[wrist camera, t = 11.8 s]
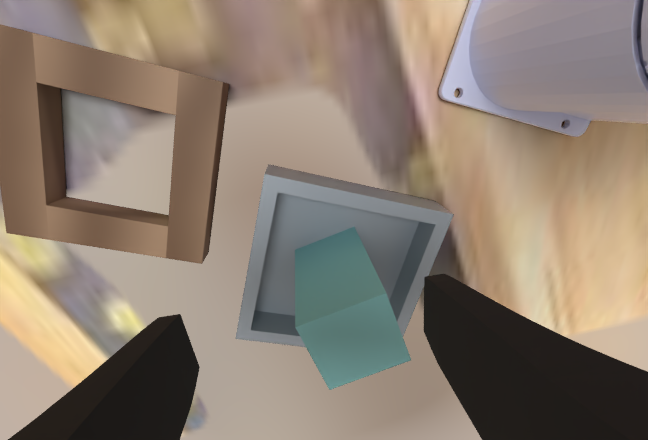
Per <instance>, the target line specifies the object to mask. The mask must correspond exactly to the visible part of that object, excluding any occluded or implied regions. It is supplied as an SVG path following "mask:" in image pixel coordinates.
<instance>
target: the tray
mask: <svg viewBox="0 0 648 440" xmlns="http://www.w3.org/2000/svg"><path fill="white" fill-rule="evenodd" d="M453 215H454V214H452V213H451V212H450V211H448V210H447V209H445V208H444V207H443V206H441V205H440V204H438V203H437V202H435V201H433V200H429V199H424V198H419V197H415V196H410V195H406V194H401V193H397V192H392V191H388V190H383V189H379V188H374V187H369V186H365V185H360V184H356V183H351V182H347V181H342V180H338V179H333V178H328V177H324V176H319V175H315V174H310V173H306V172H301V171H296V170H292V169H287V168H282V167H278V166H274V165H268V167H267V169H266V172H265V175H264V181H263V187H262V192H261V198H260V203H259V209H258V215H257V220H256V226H255V232H254V237H253V243H252V249H251V254H250V261H249V266H248V271H247V277H246V283H245V288H244V294H243V300H242V305H241V311H240V317H239V322H238V328H237V334H236V339H242V340H250V341H260V342H268V343H275V344H276V343H277V344H284V345H292V346H301V347H306V346H305V344H304V342H303V341H302V339H301V337H300V335H299V333H298V331H297V330H296V328H295V250H296V249H298V248H301V247H303V246H306V245H309V244H311V243H314V242H316V241H319V240H321V239H324V238H326V237H329V236H331V235H334V234H336V233H339V232H342V231H344V230H347V229H349V228H352V227H355V229H356V231H357V233H358V235H359V237H360V239H361V241H362V243H363V246H364V248H365V250H366V252H367V254H368V256H369V258H370V260H371V262H372V264H373V266H374V268H375V270H376V273H377V275H378V277H379V279H380V281H381V283H382V285H383V287H384V289H385V291H386V294H387V296H388V299H389V302H390V304H391V307H392V310H393V312H394V315H395V318H396V320H397V323H398V326H399V329H400V331H401V334H402V337H403V335H404V333H405V331H406V328H407V326H408V323H409V321H410V319H411V316H412V313H413V311H414V309H415V306H416V304H417V302H418V299H419V297H420V294H421V292H422V290H423V287H424V277H426V276H428V275H429V273H430V270H431V268H432V266H433V263H434V261H435V258H436V256H437V254H438V251H439V249H440V246H441V244H442V241H443V239H444V237H445V234H446V232H447V229H448V227H449V225H450V222H451V220H452V217H453Z"/></svg>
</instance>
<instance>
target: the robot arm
mask: <svg viewBox="0 0 648 440" xmlns="http://www.w3.org/2000/svg"><path fill="white" fill-rule="evenodd" d="M457 88H458V89H459V91H460V93H459V96H458V97H457V98H456V97H455V96H454V91H455V90H456V89H457ZM439 96H440V98H441V99H443V100H445V101H449V102H452V103H456V104H459V105H463V106H466V107H470V108H473V109H477V110H480V111H484V112H487V113H491V114H494V115H498V116H501V117H505V118H508V119H512V120H516V121H519V122H523V123H526V124H530V125H533V126H537V127H540V128H544V129H547V130H551V131H554V132H558V133H561V134H565V135H568V136H573V137H579V136H581V135H582V134H584V132H585V131H586V129H587V127H588V126H589V124H590V122H591V120H596V121H611V122H627V123H642V124H648V0H469V3H468V6H467V9H466V12H465V15H464V18H463V21H462V24H461V26H460V29H459V32H458V35H457V38H456V41H455V44H454V47H453V50H452V53H451V55H450V58H449V61H448V64H447V67H446V70H445V73H444V76H443V79H442V82H441V85H440V87H439ZM563 121H564V122H565V123H564V125H563V127H562V126H561V125H562V122H563ZM424 333H425V335H426V337H427V340H428V342H429V344H430V347H431V349H432V351H433V353H434V356H435V358H436V360H437V363H438V364H439V366H440V368H441V370H442V371H443V373H444V375H445V377H446V378H447V380H448V382H449V384H450V385H451V387H452V389H453V391H454V392H455V394H456V396H457V397H458V399H459V401H460V403H461V404H462V406H463V408H464V409H465V411H466V413H467V414H468V416H469V418H470V419H471V421H472V423H473V425H474V426H475V428H476V430H477V432H478V433H479V435H480V437H481V438H482V440H648V372H647V371H644V370H641V369H639V368H637V367H634V366H632V365H629V364H626V363H624V362H622V361H619V360H617V359H614V358H612V357H609V356H607V355H605V354H602V353H600V352H597V351H595V350H593V349H591V348H588V347H586V346H584V345H581V344H579V343H577V342H575V341H573V340H570V339H568V338H566V337H564V336H562V335H560V334H558V333H556V332H554V331H552V330H549V329H547V328H545V327H543V326H541V325H539V324H537V323H535V322H533V321H531V320H529V319H527V318H525V317H523V316H521V315H519V314H518V313H516V312H514V311H512V310H510V309H508V308H506V307H504V306H503V305H501V304H499V303H497V302H495V301H493V300H492V299H490V298H488V297H486V296H484V295H483V294H481V293H479V292H477V291H476V290H474V289H472V288H470V287H468V286H467V285H465V284H463V283H461V282H459V281H458V280H456V279H454V278H452V277H450V276H448V275H446V274H440V275H433V276H426V277H424ZM198 372H199V364H198V362H197V359H196V356H195V353H194V351H193V348H192V345H191V342H190V340H189V337H188V334H187V331H186V329H185V326H184V324H183V320H182V318H181V315H180V314H178V315H172V316H166V317H159V318H157V319H156V320H155V321H153V322H152V323H151V324H150V325H148V326H147V327H146V328H145V329H143V330H142V331H141V332H140V333H139V334H137V335H136V336H135V337H134V338H133V339H131V340H130V341H129V342H128V343H127V344H126V345H124V346H123V347H122V348H121V349H120V350H119V351H117V352H116V353H115V354H114V355H113V356H112V357H110V358H109V359H108V360H107V361H106V362H104V363H103V364H102V365H101V366H100V367H99V368H97V369H96V370H95V371H94V372H93V373H92V374H90V375H89V376H88V377H87V378H86V379H84V380H83V381H82V382H81V383H79V384H78V385H77V386H76V387H74V388H73V389H72V390H71V391H70V392H68V393H67V394H66V395H65V396H64V397H62V398H61V399H60V400H58V401H57V402H56V403H55V404H53V405H52V406H51V407H50V408H48V409H47V410H46V411H45V412H43V413H42V414H41V415H40V416H38V417H37V418H36V419H35V420H33V421H32V422H31V423H29V424H28V425H27V426H26V427H24V428H23V429H22V430H20V431H19V432H18V433H16V434H15V435H14V436H12V437H11V438H10V439H8V440H180V437H181V434H182V431H183V428H184V425H185V422H186V419H187V416H188V413H189V410H190V407H191V404H192V400H193V396H194V391H195V387H196V382H197V377H198Z"/></svg>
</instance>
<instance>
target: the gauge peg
mask: <svg viewBox="0 0 648 440" xmlns="http://www.w3.org/2000/svg"><path fill="white" fill-rule="evenodd" d="M295 328H296V330H297V331H298V333H299V335H300V337H301V339H302V341H303V342H304V344H305V346H306V348H307V350H308V352H309V353H310V355H311V357H312V359H313V361H314V362H315V364H316V366H317V368H318V370H319V372H320V373H321V375H322V377H323V379H324V381H325V382H326V384H327V386H328V388H329V389H330V390H331V389H333V388H336V387H339V386H342V385H344V384H347V383H350V382H353V381H355V380H358V379H361V378H364V377H366V376H369V375H372V374H375V373H377V372H380V371H383V370H385V369H388V368H391V367H394V366H397V365H399V364H402V363H405V362H408V361H410V360H411V358H410V356H409V353H408V350H407V347H406V345H405V342H404V339H403V337H402V334H401V331H400V329H399V326H398V323H397V320H396V318H395V315H394V312H393V310H392V307H391V304H390V302H389V299H388V296H387V294H386V291H385V289H384V287H383V285H382V283H381V281H380V279H379V277H378V275H377V273H376V270H375V268H374V266H373V264H372V262H371V260H370V258H369V256H368V254H367V252H366V250H365V248H364V246H363V243H362V241H361V239H360V237H359V235H358V233H357V231H356V229H355V227H352V228H349V229H347V230H344V231H342V232H339V233H336V234H334V235H331V236H329V237H326V238H324V239H321V240H319V241H316V242H314V243H311V244H309V245H306V246H303V247H301V248H298V249H296V250H295Z"/></svg>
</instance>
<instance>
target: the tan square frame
mask: <svg viewBox="0 0 648 440" xmlns="http://www.w3.org/2000/svg"><path fill="white" fill-rule="evenodd" d="M60 88H63V89H67V90H71V91H75V92H80V93H84V94H88V95H92V96H97V97H101V98H105V99H109V100H114V101H118V102H122V103H126V104H131V105H135V106H139V107H143V108H148V109H152V110H156V111H160V112H165V113H169V114H173V115H176V119H175V134H174V148H173V163H172V177H171V192H170V206H169V207H170V208H169V215H164V214H158V213H153V212H147V211H142V210H136V209H131V208H125V207H119V206H114V205H109V204H103V203H98V202H92V201H86V200H80V199H75V198H70V197H66V180H65V162H64V144H63V126H62V107H61V89H60ZM228 90H229V84H228V83H224V82H220V81H216V80H212V79H209V78H205V77H201V76H197V75H193V74H189V73H185V72H182V71H178V70H174V69H170V68H166V67H162V66H158V65H155V64H151V63H147V62H143V61H139V60H135V59H131V58H128V57H124V56H120V55H116V54H112V53H108V52H104V51H101V50H97V49H93V48H89V47H85V46H81V45H77V44H74V43H70V42H66V41H62V40H58V39H54V38H51V37H47V36H43V35H39V34H35V33H31V32H27V31H24V30H20V29H16V28H12V27H8V26H4V25H0V187H1V194H2V202H3V209H4V217H5V225H6V232H7V233H10V234H16V235H23V236H29V237H36V238H42V239H48V240H55V241H61V242H67V243H74V244H80V245H87V246H93V247H99V248H105V249H112V250H118V251H124V252H131V253H137V254H144V255H150V256H156V257H162V258H169V259H175V260H182V261H189V262H195V263H201V264H202V263H203V261H204V259H205V257H206V256H207V254H208V252H209V245H210V237H211V228H212V220H213V212H214V204H215V196H216V188H217V179H218V171H219V163H220V155H221V147H222V139H223V131H224V123H225V114H226V106H227V98H228Z"/></svg>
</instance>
